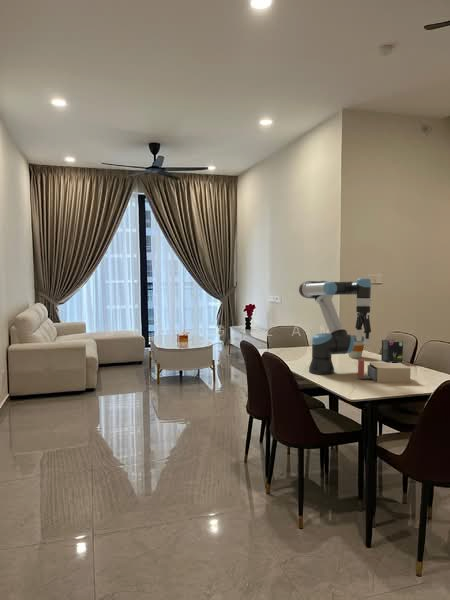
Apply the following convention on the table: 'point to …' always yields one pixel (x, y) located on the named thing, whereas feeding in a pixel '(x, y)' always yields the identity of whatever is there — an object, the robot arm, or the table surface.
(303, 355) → the table surface
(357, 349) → the reusable coffee cup
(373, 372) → the tray
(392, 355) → the tampon box
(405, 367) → the sleeve
